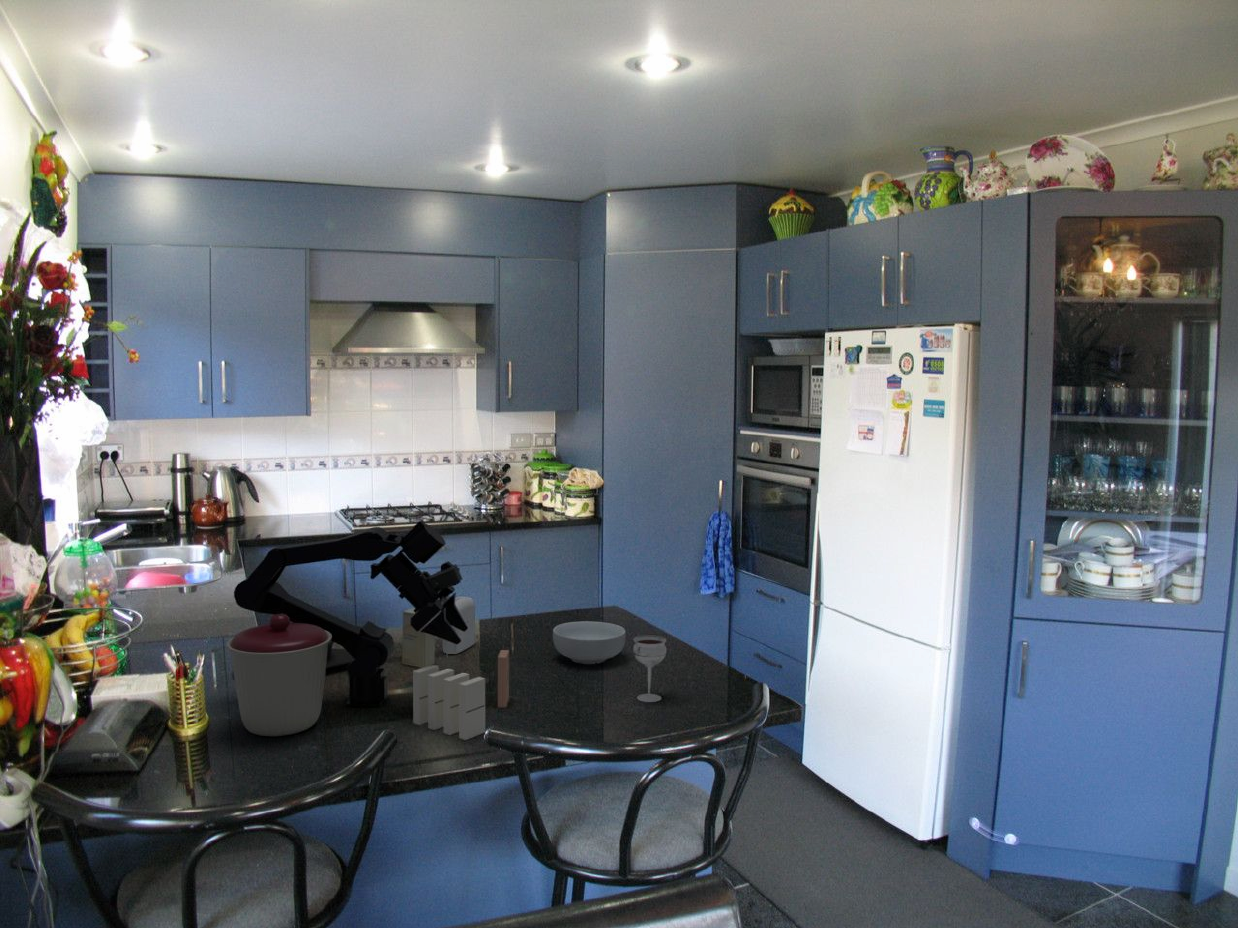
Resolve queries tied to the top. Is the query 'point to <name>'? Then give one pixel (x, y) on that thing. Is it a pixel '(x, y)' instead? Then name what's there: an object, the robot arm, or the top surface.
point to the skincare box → (416, 644)
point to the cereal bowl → (589, 641)
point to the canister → (279, 675)
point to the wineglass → (649, 658)
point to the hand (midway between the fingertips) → (463, 636)
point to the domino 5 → (503, 678)
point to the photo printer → (468, 615)
